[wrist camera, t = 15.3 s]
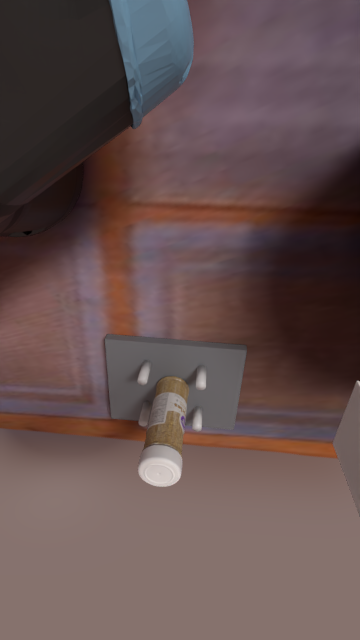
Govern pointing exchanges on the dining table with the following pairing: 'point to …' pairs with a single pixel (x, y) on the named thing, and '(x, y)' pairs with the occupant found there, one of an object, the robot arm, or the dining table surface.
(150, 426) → the sprinkles bottle
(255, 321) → the dining table surface
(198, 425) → the pin tray
